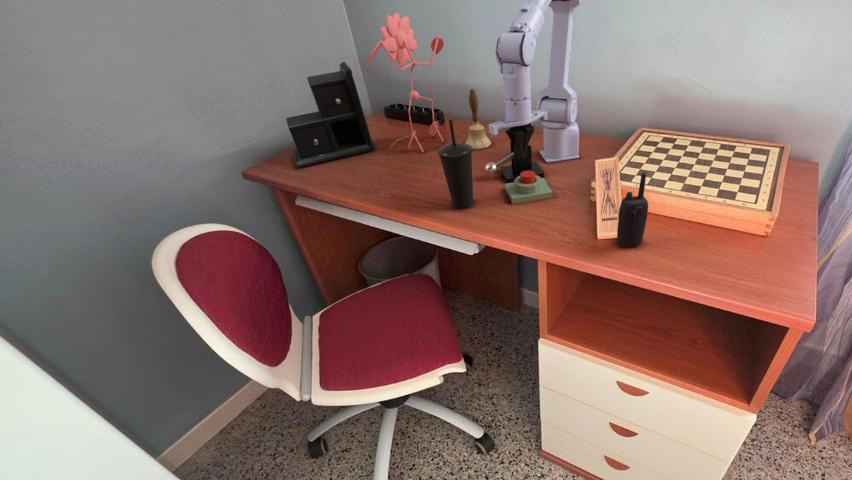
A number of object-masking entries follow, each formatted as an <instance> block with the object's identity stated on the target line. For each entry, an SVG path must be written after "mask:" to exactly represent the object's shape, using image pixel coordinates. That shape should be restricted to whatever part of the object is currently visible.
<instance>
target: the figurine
mask: <svg viewBox="0 0 852 480" xmlns="http://www.w3.org/2000/svg"><path fill="white" fill-rule="evenodd" d="M410 24H411V23H410V18H409V17H408V16H406V15H404V16H402V17H401V16H400V14H399V13H398V12H395V13H393V15H392V16H391V15H390V14H387V15H386V17H385V25H386V27H384V26H381V28H380V33H381V36H382V38H383V39H384V41H383V40H380V41H379V42H378V43H377V45H376V46H375V47H374V48H373V50H372V52H371V53H370V55H369V57H368V59H367V61H366V64H365V68H368V67H369V65H370V64H371V63H372V62H373V60H374V59H375V57H376V56H377V54H378V52H379V50H380V49H381V47H383V49H384V51H385V52H386V53H387V60H388V61H390V62H393V64H394V65H395V67H396V68H397V69H398V70H399V73H400V72H402V71H405V70H406V69H408V68H410V67H411V68H410V69H409V70H410V71H409V75H410V85H411V86H410V87H411V91H410V92H409V98H410V99H409V105H408V110H407V111H408V118H409V124H410V129H411V135H410V134H409V135H407V136H404V137H402V138H398V139H397V140H396V141H395V142H393V143H392V144H391V145H390V147H392V146H393V145H394V144H395V143H398V141H401V140H403V139H405V138H408V137H410V136H411V137H410V139H409V142H408V144H407V148H406V151H409V149H410V147H411V144H412V142H413V141H414V139H415V141H416V143H417V146H418V148H419V150H420V151H421V152H422V153H424V151H425V150H424V149H423V147H422V144H421V143H420V141H419V139H418V138H417V136H416V130H414V129H413V124H412V117H411V105H412V101H414V102H415V101H418V100H419V99H420V98H421V99H424V100H427V101H431V111H432V123H431V124H430V127H429V130H428V133H429V135H430V136H432V137H435V135H436V134H438V137H439V139H440V140H441V142H442V143H443V142H445V141H444V138H443V137H442V135H441V132H440V131H439V128H440V123H439V121H435V112H434V111H435V110H434V101H433V99H432V98H429V97H425V96H421V95H420V94H419V92H418V91H416V90H414V82H413V81H414V80H413V70H414V67H415V66H417V65H421V66H430V67H432V66H433V62H434V59H435V55H438V54H439V53H441V51H442V50H443V48H444V46H445V44H444V43H445V42H444V40H443V38H442V37H441V36H440V35H438V34H437V35H436V36H435V37H434V38H433V39H431V42H430V48H431V51H432V55H431V59H430V62H428V63H427V62H420V61H416V60H415V59H414V57H413V54H412V51H413V52H414V51H417V50H418V44H417V41H416V39H415V38H414V36H415V32H414V30H413V29H412V28H411V27H410ZM396 60H397V62H396ZM406 62H408V64H406ZM405 64H406V65H405ZM400 67H401V68H400ZM454 136H457V134H455V133H454ZM388 150H389V151H391V148H389V149H388Z"/></svg>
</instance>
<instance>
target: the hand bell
mask: <svg viewBox="0 0 852 480" xmlns="http://www.w3.org/2000/svg"><path fill="white" fill-rule="evenodd" d="M478 99H479V98H478V95H477V93H476V89H475V88H471V89H469V95H468V105H469V108H470V111H471V115H472V124H471V125H469V127H468V137H467V139H466V140H465V142H464V143H465V144H469V145H471V146H472V150H483V149H487V148H489V147H490V146H492V141H491V140H490V139H489V138H488V136H487V133H486V131H485V127H484V125H482V124H480V122H479V115H478V108H479V100H478Z"/></svg>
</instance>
